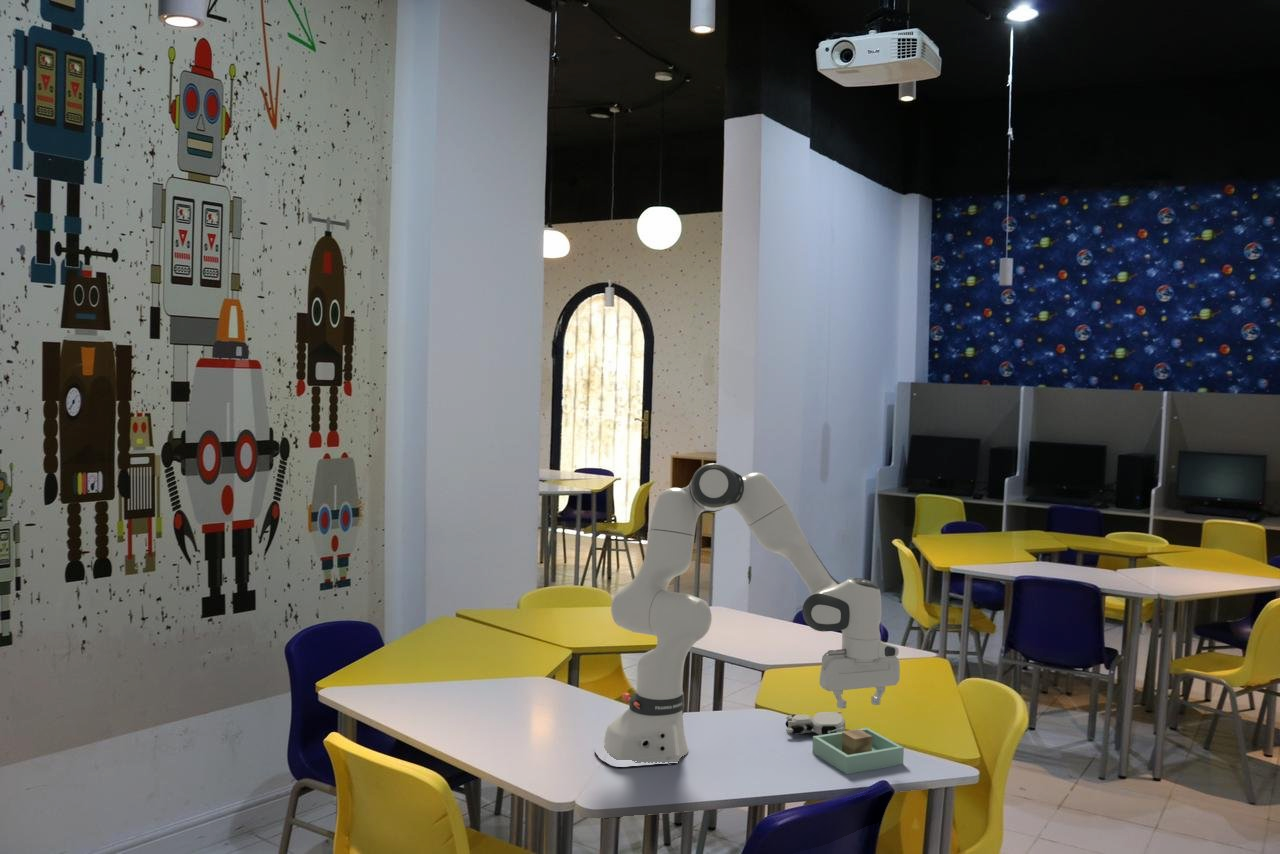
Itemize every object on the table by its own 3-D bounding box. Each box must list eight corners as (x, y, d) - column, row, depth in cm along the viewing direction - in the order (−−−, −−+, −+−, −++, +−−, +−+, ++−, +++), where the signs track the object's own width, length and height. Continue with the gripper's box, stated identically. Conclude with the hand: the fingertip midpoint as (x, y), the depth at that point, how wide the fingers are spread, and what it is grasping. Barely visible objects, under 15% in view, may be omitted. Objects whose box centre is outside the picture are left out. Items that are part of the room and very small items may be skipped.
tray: (846, 774, 232) (846, 757, 232) (812, 752, 245) (812, 736, 245) (903, 764, 238) (903, 747, 238) (867, 743, 251) (867, 727, 251)
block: (854, 759, 238) (854, 739, 238) (841, 752, 243) (842, 732, 243) (871, 756, 240) (872, 736, 240) (859, 749, 245) (859, 729, 245)
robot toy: (785, 743, 253) (846, 743, 251) (784, 725, 253) (846, 725, 251) (786, 726, 265) (844, 726, 263) (785, 709, 265) (843, 708, 263)
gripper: (830, 654, 232) (827, 714, 232) (904, 648, 239) (902, 706, 240) (815, 647, 238) (813, 705, 238) (888, 642, 245) (886, 698, 246)
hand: (858, 706), depth 239 cm, fingers open, 8 cm apart
